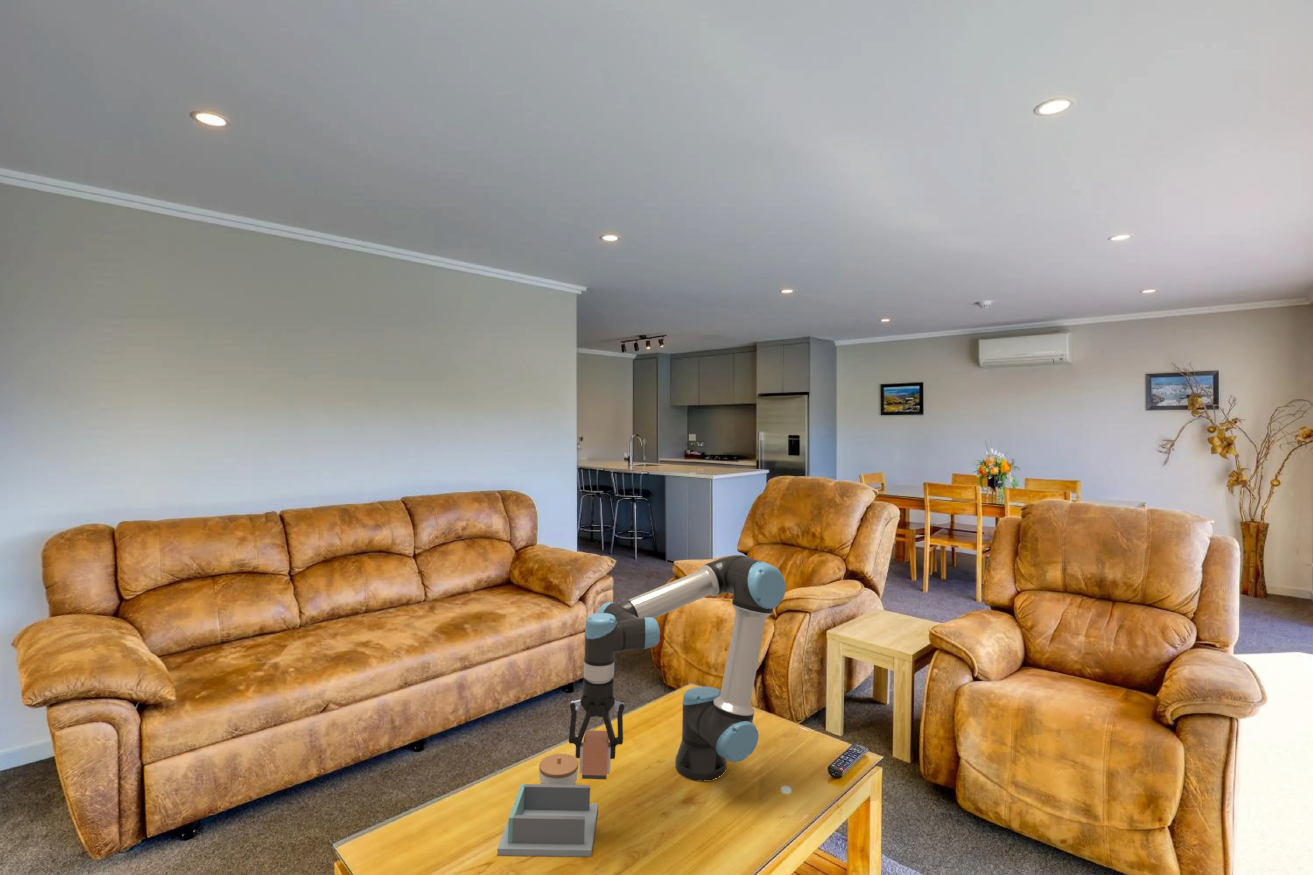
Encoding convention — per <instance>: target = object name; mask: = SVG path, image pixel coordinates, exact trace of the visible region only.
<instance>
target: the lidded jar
mask: <svg viewBox="0 0 1313 875" xmlns="http://www.w3.org/2000/svg"><path fill="white" fill-rule="evenodd" d="M538 768H539V781H540V784H550V785H576V782H577V780H578V775H579V774H578V773H579V760H578V758H576V756H575V755H574V756H573V755H571V754H569V753H568V754H567V753H554V754H550V755H547V756H546V757H544V758H543V759H541V761H540V762H539V765H538Z"/></svg>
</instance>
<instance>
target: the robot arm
mask: <svg viewBox="0 0 1313 875" xmlns="http://www.w3.org/2000/svg"><path fill="white" fill-rule="evenodd" d="M721 594H732V595H733V596H732V600H731V606H732V607H733V609H734V611H735V613H734V620H733V626H732V630H731V636H730V641H729V646H728V651H727V657H726V662H725V668H724V674H723V679H722V684H721V688H720V689H719V688H716V687H712V686H696V687H693V688H689V689H687V690H686V691H685V692H684V693H683V698H682V703H681V705H682V722H681V723H682V724H681V725H682V727H681V728H682V729H681V732H682V733H681V741H680V745H679V747H678V750H677V753H676V755H675V769H676V771H677V772H678V774H679V775H681V776H683V777H684V778H686V779H689V780H691V781H696V780H701V781H700V782H705V781H704V780H711V781H714V780H713V779H715V778H718V777H719V776H721V775H722V774H723V773H724V772H725V770H726V771H727V761H729V762H731V763H738V762H741V761H744V760H746V759H747V758H748V757H749V756H751V755H752V753H753V752H754V751H755V749H756V747H757V746H758V742H759V738H760V737H759V730H758V729H757V727H756V725H755V724H754V723H753V722H754V721H753V720H754V716H755V709H754V707H753V705H752V703H751V700H752V696H753V690H754V685H755V679H756V675H757V669H758V663H759V658H760V653H761V647H762V641H763V637H764V636H763V635H764V631H765V624H766V620H767V618H768V617H770V616H771V615H773V613H774V608H777V607H778V606H779V605H780V603H781V602H782V601H783V600H784V597H785V595H786V581H785V577H784V575H783V574H782V572H781V571H780V569H779V568H777V567H776V566H774V565H772V564H770V563H768V562H765V561H761V560H759V559H755V558H753V557H749V556H746V555H742V554H733V555H729V556H724V557H721V558H719V559H716V560H714V561H710V562H708V563H706V564H705V563H704V564H703V565H701V566H700V568H699V570H697V571H695V572H693V573H691V574H690V573H689V574H688V575H686V576H683V577H680V578H678V579H676V580H674V581H671V582H669V583H666V584H663V585H662V586H659V587H656V588H653V589H651V590H650V591H646V592H644V593H642V594H639V595H637V596H635V597H632V598H630V599H627V600H625V601H622V602H620V603H617V602H611V601H608V602H606V603H603V604H602V605H601V606H600V608H599V609H598V611H597V612H595V613H593V614H590V615H589V616H587V618H586V621H585V630H584V657H583V679H582V680H583V681H582V696H581V697H580V699H577V700H576V699H571V700H570V705H569V709H570V711H571V712H570V715H571V716H570V725H569V734H568V735H569V737H568V743H569V744H574V745H575V755H574V757H575V758H576V759H579V767H578V773H579V774H582V762H583V740H584V736H585V731H586V730H587V728H588V725H589V722H590V720H591V718H594V717H598V718H602V720H603V723H604V726H605V729H606V730H605V731H607V734H608V737H609V742H608V759H607V775H610V774H611V760H614V759H615V758H616V747H617V746H619V745H623V744H624V726H623V724H624V723H623V721H624V720H623V717H624V716H623V713H624V710H625V704H626V702H625V701H624V700H620V701H618V700H616V699H615V697H614V684H615V683H614V682H615V681H614V674H615V657H616V653H622V652H629V651H636V650H646V649H649V648H653V647H656V646H657V645H658V644H659V642H660V639H661V638H660V637H661V636H660V635H661V631H660V626H659V623H658V621H657V619H655V618H658V617H661V616H663V615H665V614H668V613H670V612H673V611H675V610H677V609H680V608H682V607H684V606H687V605H688V604H692V603H694V602H695V601H698V600H700V599H703V598H705V597H708V596H711V597H717V596H718V595H721ZM580 706H581V707H582V708H583V709H584V711H585V715H584V718H583V721H582V723H581V726H580V728H579V731H578V734H577V735H575V734H576V725H577V717H578V716H577V715H578V710H579V709H580ZM613 707H614V708H615V712H617V716H616V719H617V722H616V723H617V737H616V735H615V731H614V728H613V725H612V724H613V723H612V721H611V716H610V713H609V712H610V710H612V708H613ZM725 773H726V772H725ZM718 779H719V778H718ZM715 780H716V779H715Z"/></svg>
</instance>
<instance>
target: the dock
mask: <svg viewBox="0 0 1313 875" xmlns="http://www.w3.org/2000/svg"><path fill="white" fill-rule="evenodd" d="M590 802H591V785H590V784H575V785H550V784H541V783H520V786H519V789H518V791H517V794H516V797H515V800H514V802H513V804H512V807H511V811H510V814H509V815H508V818H507V822H506V824H505V827H504V830H503V833H502V835H501V838H500V840H499V843H498V846H497V851H496V852H497V856H524V857H525V856H526V857H527V856H528V857H529V856H531V857H532V856H535V857H536V856H537V857H540V856H541V857H589V858H591V857H592V855H593V854H592V853H593V846H594V838H595V832H596V824H597V817H598V810H599V808H598V806H599V804H598V803H593V802H592V803H590Z"/></svg>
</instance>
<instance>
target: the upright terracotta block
mask: <svg viewBox="0 0 1313 875" xmlns="http://www.w3.org/2000/svg"><path fill="white" fill-rule="evenodd" d="M582 742H583V762H582V773H581V780H583V779H584V780H608V778H607V777H608V776H607V775H608V774H607V759H608V742H610V741H609V737H608V734H607V730H593V729H592V730H590V729H589V730H587V729H586V731H585V734H584V737H583V740H582Z"/></svg>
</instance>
